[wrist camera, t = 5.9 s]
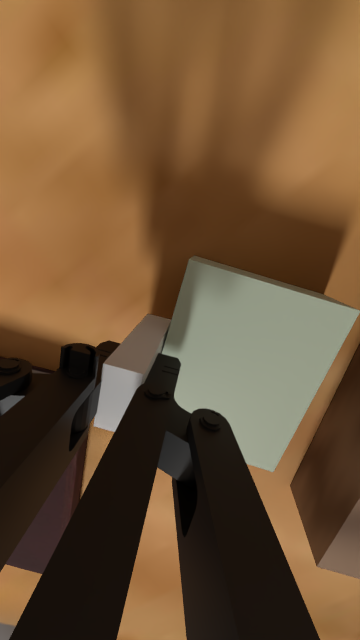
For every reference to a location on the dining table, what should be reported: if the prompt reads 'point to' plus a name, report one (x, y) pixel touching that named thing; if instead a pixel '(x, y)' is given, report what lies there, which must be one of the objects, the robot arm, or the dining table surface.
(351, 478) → the board
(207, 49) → the dining table surface
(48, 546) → the book
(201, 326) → the block
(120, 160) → the dining table surface
